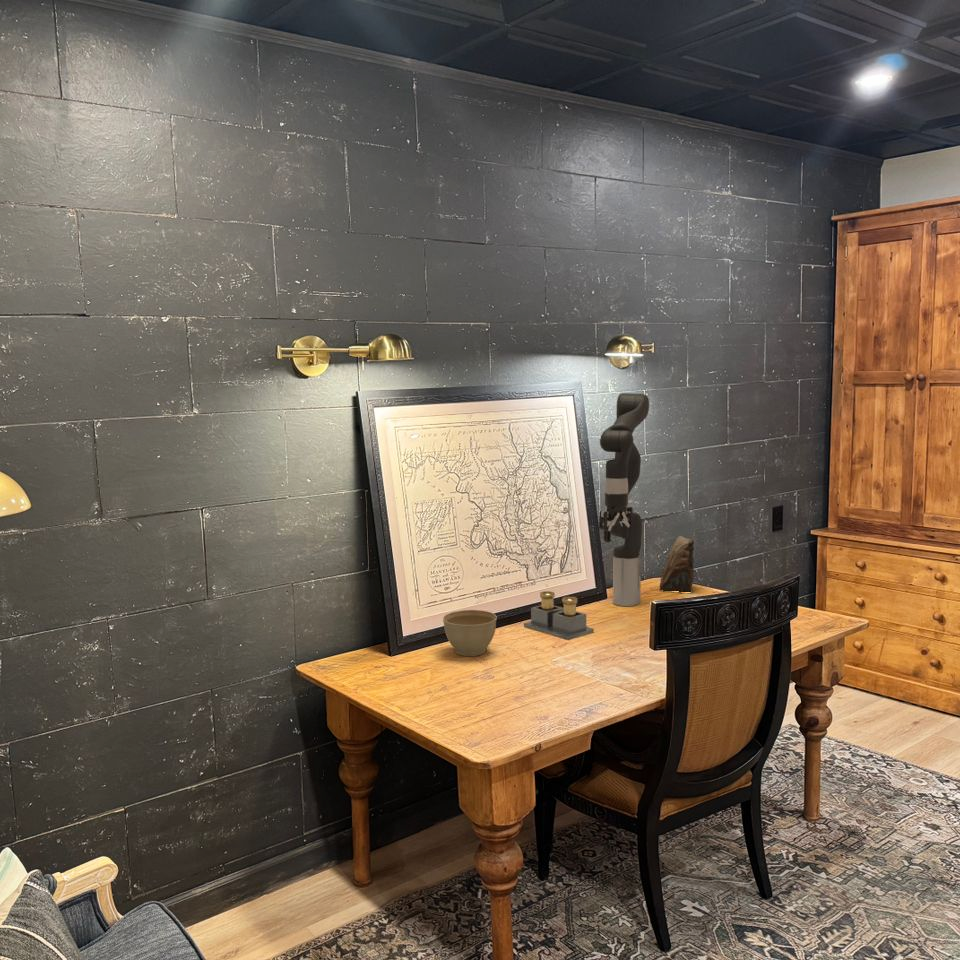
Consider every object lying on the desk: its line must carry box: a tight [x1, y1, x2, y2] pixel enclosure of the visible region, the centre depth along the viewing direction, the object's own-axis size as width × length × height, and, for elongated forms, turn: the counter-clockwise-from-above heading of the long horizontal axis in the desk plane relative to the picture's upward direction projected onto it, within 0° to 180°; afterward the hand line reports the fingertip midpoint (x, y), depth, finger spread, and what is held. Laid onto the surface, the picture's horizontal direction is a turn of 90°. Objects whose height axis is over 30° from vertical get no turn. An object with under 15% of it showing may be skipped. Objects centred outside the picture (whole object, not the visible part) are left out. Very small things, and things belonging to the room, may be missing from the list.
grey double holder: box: [523, 590, 595, 641], centre depth 295 cm, size 12×20×11 cm, turn 41°
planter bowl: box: [442, 609, 498, 657], centre depth 273 cm, size 16×16×11 cm
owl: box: [659, 534, 695, 592], centre depth 344 cm, size 13×13×20 cm
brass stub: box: [561, 596, 578, 617], centre depth 291 cm, size 5×5×10 cm
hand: (616, 540), depth 299 cm, fingers open, 8 cm apart
